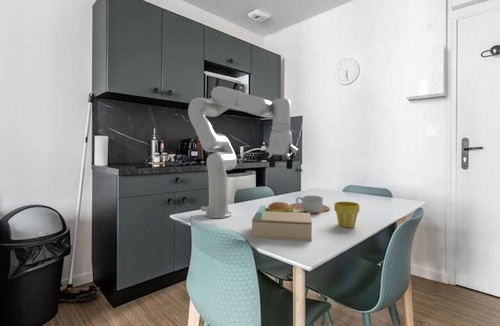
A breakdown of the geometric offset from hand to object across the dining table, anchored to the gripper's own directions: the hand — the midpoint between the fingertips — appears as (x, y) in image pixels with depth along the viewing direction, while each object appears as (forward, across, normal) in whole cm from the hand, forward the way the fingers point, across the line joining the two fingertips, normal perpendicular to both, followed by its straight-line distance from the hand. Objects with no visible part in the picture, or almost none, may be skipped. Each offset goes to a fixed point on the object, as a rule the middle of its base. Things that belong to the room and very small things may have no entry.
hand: (280, 168), depth 117 cm
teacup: (+25, -6, +31) cm, 40 cm away
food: (+26, -8, +8) cm, 28 cm away
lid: (+19, +8, -8) cm, 22 cm away
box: (+25, +8, -8) cm, 27 cm away
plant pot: (+25, +20, +21) cm, 39 cm away
